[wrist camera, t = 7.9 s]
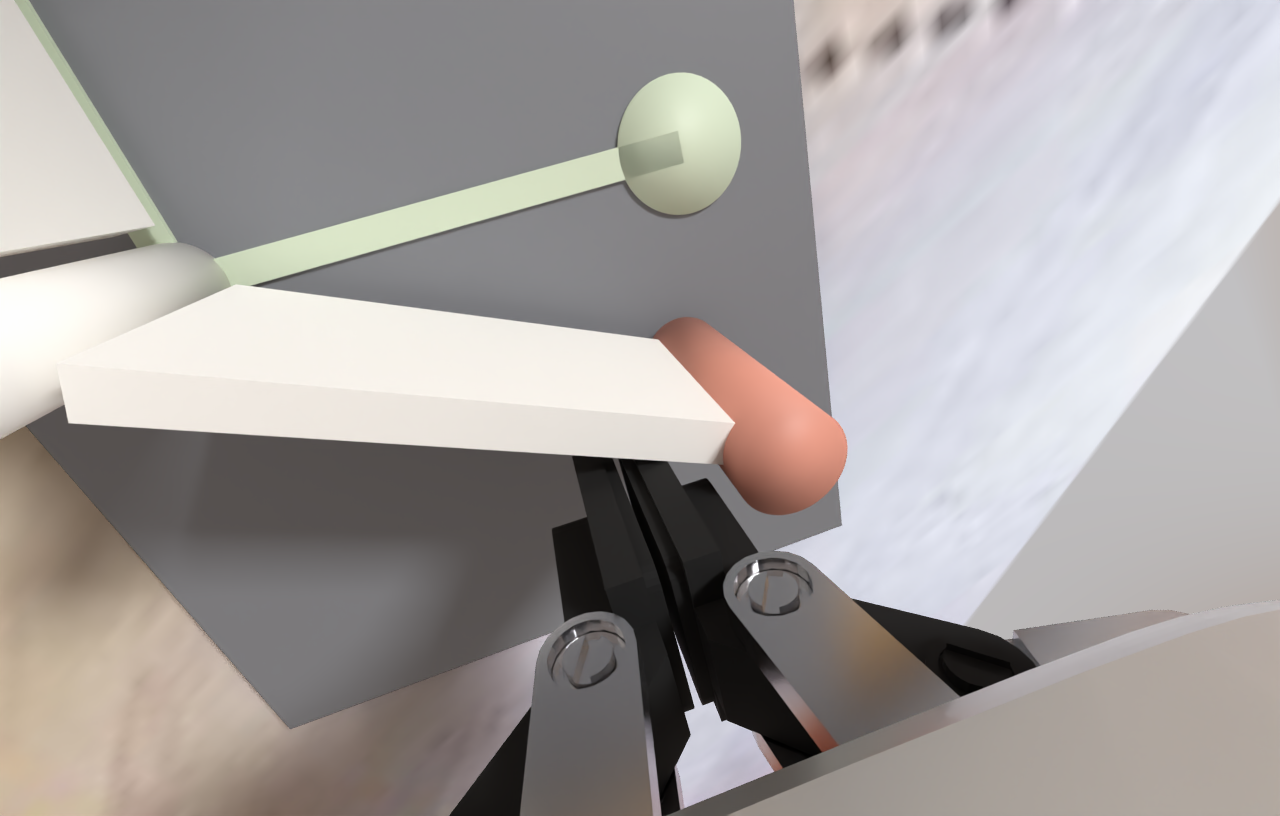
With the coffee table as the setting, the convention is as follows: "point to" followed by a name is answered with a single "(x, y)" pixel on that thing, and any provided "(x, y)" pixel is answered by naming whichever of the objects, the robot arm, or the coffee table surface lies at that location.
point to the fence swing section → (460, 387)
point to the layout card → (431, 283)
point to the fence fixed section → (69, 234)
